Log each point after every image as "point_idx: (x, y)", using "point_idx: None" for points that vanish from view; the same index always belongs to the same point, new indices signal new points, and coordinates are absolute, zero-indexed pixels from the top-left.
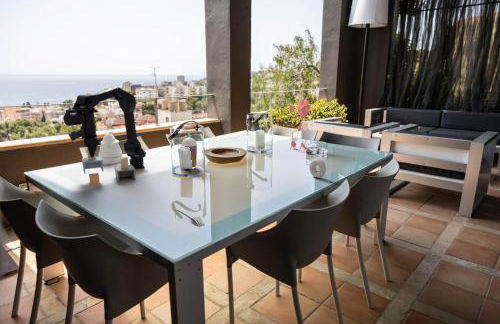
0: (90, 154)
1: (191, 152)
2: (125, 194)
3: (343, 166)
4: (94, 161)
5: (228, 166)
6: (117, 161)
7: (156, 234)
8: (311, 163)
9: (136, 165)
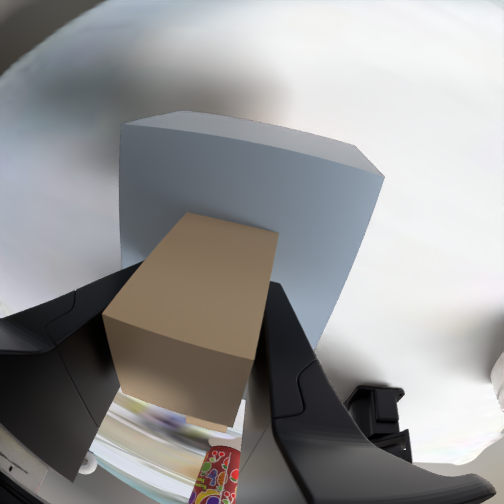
0: (124, 274)
1: (192, 491)
2: (35, 231)
3: (129, 480)
4: (125, 245)
5: (198, 471)
6: (494, 372)
7: None
8: (86, 468)
9: (354, 408)
